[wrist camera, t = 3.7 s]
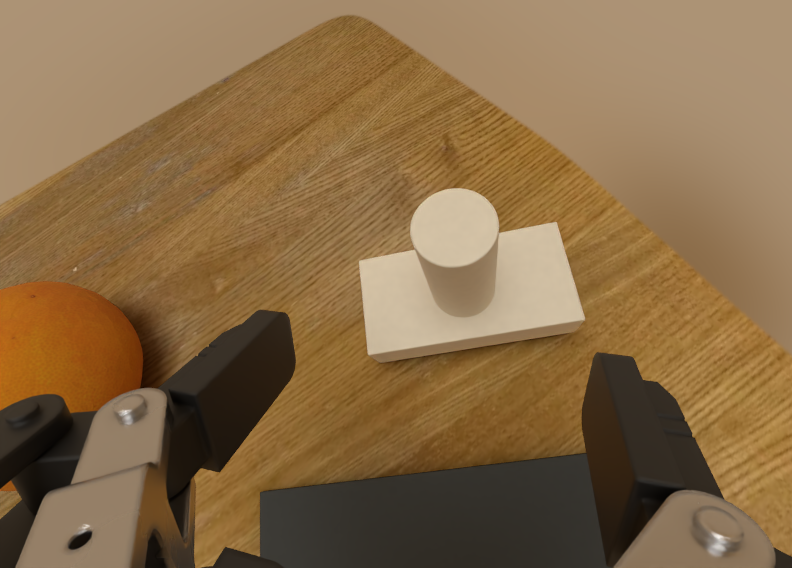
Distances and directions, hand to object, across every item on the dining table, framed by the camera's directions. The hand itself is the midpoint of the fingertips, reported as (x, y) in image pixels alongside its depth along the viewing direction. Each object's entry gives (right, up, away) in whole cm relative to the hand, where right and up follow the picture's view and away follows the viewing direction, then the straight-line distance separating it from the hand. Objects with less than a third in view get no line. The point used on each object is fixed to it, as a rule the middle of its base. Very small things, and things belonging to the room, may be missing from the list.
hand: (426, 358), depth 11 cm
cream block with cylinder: (+3, +1, +12) cm, 12 cm away
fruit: (-19, -4, +15) cm, 25 cm away
